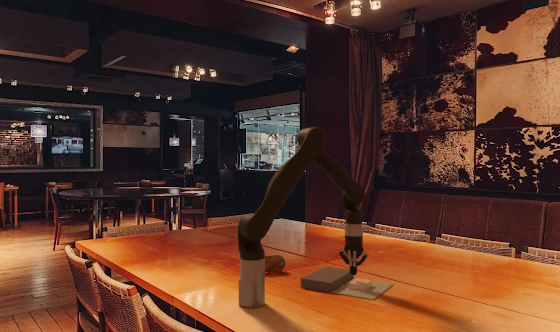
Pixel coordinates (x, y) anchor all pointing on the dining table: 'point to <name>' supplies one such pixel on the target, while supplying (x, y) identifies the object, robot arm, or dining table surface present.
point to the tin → (274, 263)
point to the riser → (326, 279)
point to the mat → (369, 294)
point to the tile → (360, 284)
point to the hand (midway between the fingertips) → (353, 274)
